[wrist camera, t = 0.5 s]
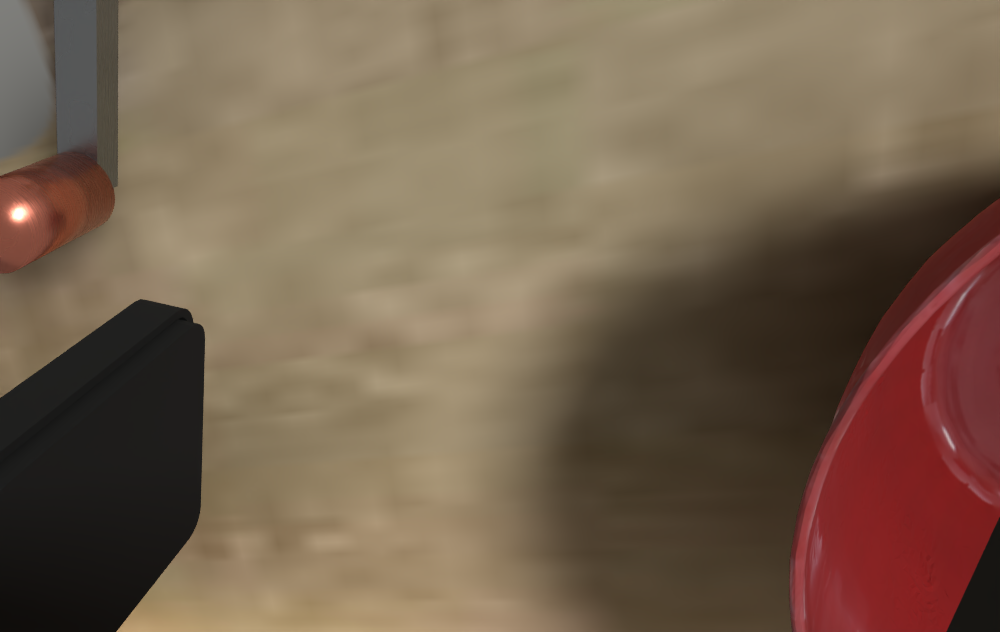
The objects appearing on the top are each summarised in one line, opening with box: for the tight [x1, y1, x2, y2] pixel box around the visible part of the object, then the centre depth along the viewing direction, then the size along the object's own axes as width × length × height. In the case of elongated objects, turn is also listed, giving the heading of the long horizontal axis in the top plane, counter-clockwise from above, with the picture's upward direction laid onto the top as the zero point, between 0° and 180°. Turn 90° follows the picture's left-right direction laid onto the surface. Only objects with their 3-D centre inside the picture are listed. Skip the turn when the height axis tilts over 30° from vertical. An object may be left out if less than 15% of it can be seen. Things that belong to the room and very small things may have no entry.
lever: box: [0, 0, 118, 273], centre depth 32 cm, size 15×4×6 cm, turn 170°
